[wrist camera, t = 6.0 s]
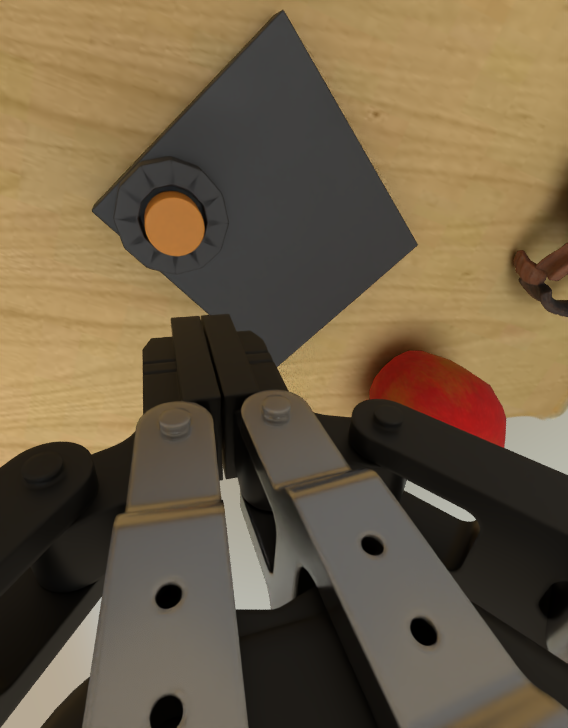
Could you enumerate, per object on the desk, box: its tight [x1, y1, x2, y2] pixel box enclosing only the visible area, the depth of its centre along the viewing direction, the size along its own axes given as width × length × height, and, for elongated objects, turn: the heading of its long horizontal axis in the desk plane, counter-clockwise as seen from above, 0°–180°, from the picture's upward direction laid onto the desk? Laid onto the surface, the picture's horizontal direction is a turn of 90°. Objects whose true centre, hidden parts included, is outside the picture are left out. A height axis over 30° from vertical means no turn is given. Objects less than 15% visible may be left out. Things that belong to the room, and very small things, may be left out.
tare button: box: [144, 191, 205, 256], centre depth 22 cm, size 3×3×2 cm
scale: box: [92, 10, 418, 367], centre depth 26 cm, size 16×14×3 cm
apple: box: [369, 351, 506, 448], centre depth 32 cm, size 9×9×12 cm
